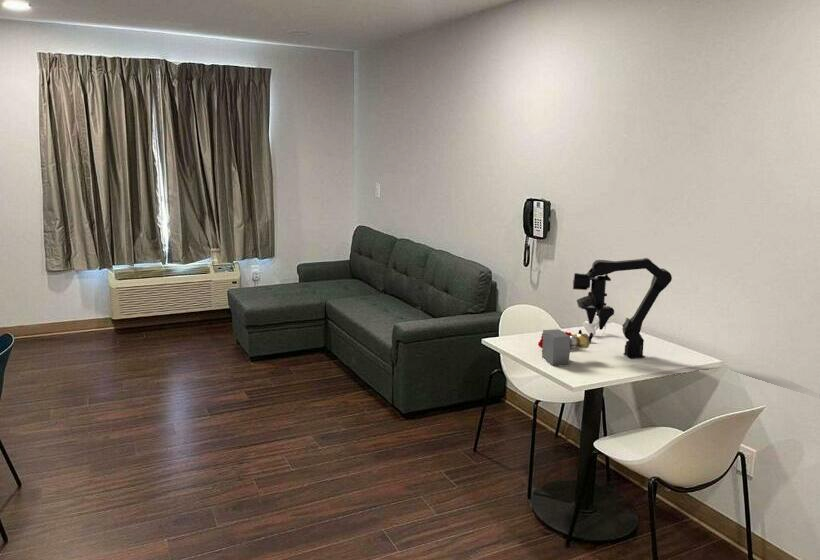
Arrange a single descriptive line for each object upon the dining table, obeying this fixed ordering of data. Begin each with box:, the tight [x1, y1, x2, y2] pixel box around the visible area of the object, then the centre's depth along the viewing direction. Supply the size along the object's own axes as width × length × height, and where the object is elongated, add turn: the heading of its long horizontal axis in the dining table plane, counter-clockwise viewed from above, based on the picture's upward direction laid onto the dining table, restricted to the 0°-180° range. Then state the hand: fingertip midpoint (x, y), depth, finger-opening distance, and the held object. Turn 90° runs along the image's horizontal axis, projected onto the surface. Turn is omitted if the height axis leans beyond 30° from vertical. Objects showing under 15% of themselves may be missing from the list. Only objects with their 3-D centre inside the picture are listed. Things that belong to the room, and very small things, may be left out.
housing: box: [541, 328, 571, 367], centre depth 261 cm, size 7×11×12 cm, turn 11°
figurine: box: [537, 329, 594, 349], centre depth 283 cm, size 12×9×30 cm
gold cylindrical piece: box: [570, 333, 590, 350], centre depth 262 cm, size 8×6×6 cm
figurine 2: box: [582, 315, 608, 336], centre depth 300 cm, size 8×12×10 cm
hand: (595, 326), depth 269 cm, fingers open, 9 cm apart
